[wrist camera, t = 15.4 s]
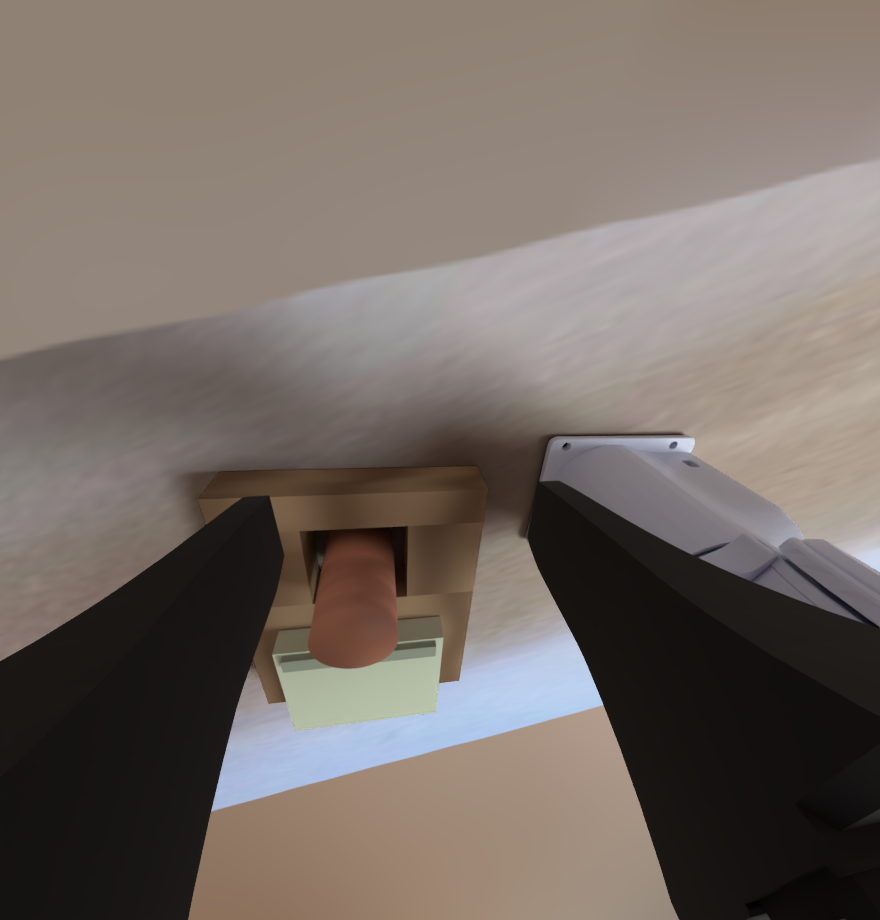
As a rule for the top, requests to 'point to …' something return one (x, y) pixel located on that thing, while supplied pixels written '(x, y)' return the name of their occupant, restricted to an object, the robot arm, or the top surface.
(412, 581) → the board
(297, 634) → the cover
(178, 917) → the robot arm
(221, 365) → the top surface
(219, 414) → the top surface
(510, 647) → the top surface
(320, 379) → the top surface
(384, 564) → the pin
